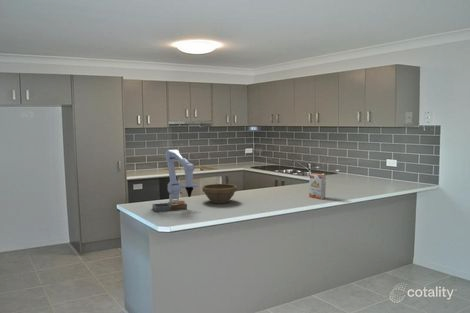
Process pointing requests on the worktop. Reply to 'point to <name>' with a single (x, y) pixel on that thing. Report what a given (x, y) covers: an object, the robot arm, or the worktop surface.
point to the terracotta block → (180, 201)
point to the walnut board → (178, 206)
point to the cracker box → (317, 186)
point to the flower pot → (219, 192)
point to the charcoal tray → (161, 207)
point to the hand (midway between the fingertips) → (189, 196)
